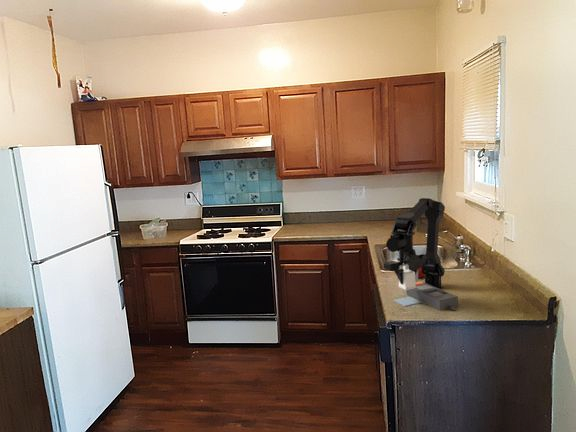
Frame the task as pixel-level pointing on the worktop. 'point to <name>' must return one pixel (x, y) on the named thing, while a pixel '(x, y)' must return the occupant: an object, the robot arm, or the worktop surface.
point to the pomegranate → (420, 273)
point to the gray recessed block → (433, 296)
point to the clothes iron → (422, 225)
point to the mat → (407, 301)
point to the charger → (408, 280)
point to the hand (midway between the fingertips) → (406, 282)
